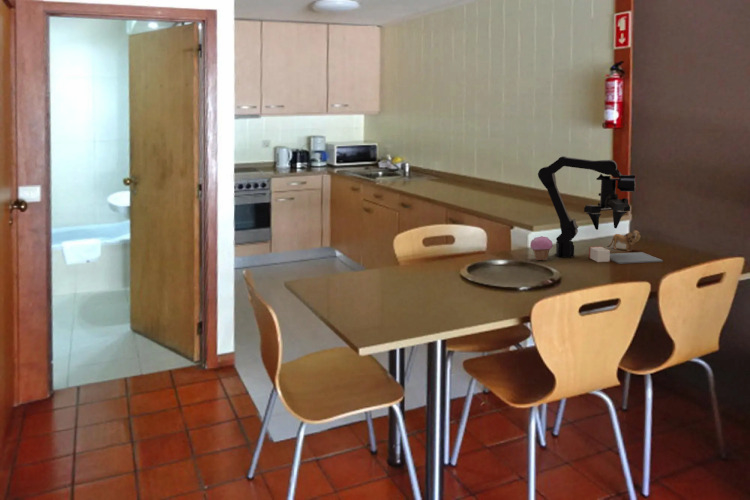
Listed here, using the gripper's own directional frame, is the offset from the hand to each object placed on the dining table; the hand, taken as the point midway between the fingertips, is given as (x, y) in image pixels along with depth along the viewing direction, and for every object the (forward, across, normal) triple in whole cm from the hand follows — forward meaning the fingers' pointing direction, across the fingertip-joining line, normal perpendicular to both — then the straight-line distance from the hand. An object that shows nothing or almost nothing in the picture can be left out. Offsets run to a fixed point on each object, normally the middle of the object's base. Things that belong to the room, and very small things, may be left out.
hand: (606, 228), depth 275 cm
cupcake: (+13, -25, +8) cm, 29 cm away
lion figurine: (+12, +19, +11) cm, 25 cm away
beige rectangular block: (+12, -4, -2) cm, 13 cm away
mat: (+12, +8, -6) cm, 16 cm away
